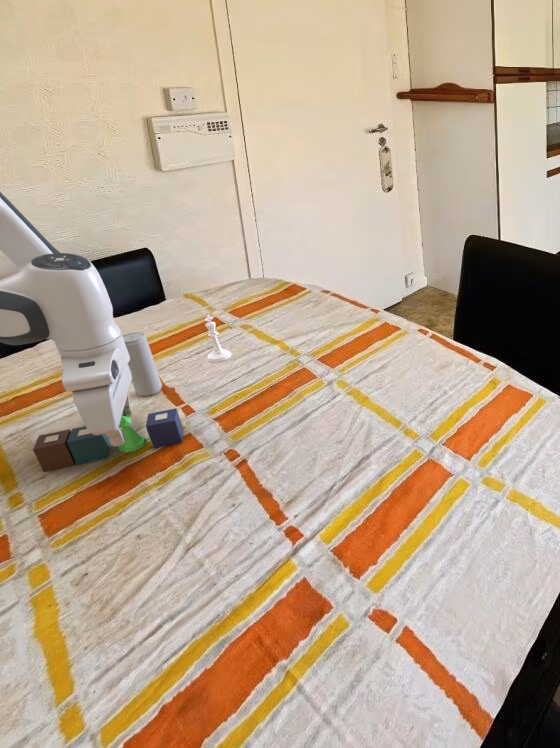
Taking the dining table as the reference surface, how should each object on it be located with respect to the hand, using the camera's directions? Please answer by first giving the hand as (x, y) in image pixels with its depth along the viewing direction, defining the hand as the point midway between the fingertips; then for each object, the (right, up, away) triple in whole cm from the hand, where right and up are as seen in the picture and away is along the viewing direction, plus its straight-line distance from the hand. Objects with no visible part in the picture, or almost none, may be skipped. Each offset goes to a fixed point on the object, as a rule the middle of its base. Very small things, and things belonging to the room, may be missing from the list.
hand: (123, 429), depth 106 cm
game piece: (0, -3, +2) cm, 4 cm away
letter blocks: (-2, -4, +1) cm, 5 cm away
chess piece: (+1, +13, +33) cm, 35 cm away
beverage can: (-7, +6, +19) cm, 21 cm away
